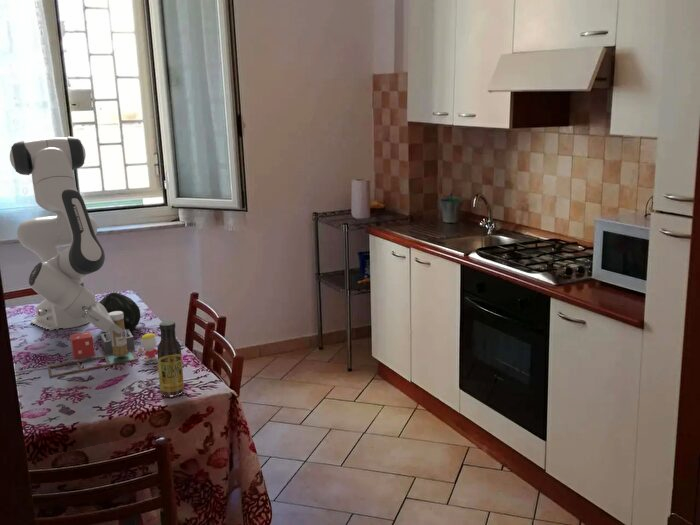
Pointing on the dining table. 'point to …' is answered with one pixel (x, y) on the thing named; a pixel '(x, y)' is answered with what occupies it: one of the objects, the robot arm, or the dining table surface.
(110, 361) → the wooden frame
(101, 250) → the robot arm
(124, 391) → the dining table surface
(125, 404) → the dining table surface
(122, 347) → the sprinkles bottle
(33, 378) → the dining table surface
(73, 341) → the red die
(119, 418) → the dining table surface
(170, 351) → the sauce bottle
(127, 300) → the squash
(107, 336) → the dome
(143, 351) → the toy figures
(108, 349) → the dome housing
